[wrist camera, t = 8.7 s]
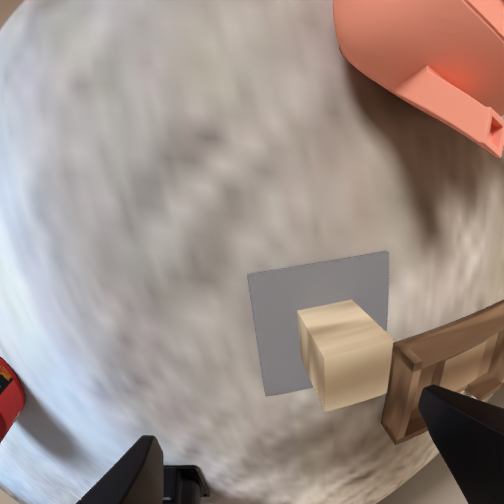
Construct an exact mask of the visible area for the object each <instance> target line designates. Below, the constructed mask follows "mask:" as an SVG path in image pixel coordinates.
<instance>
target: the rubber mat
mask: <svg viewBox="0 0 504 504" xmlns="http://www.w3.org/2000/svg"><path fill="white" fill-rule="evenodd" d="M247 276H248V283H249V290H250V297H251V303H252V310H253V317H254V324H255V330H256V337H257V344H258V350H259V357H260V364H261V370H262V377H263V383H264V390H265V396H271V395H276V394H282V393H287V392H292V391H297V390H302V389H306V388H311V387H313V385H312V383H311V380H310V378H309V376H308V374H307V371H306V369H305V367H304V365H303V362H302V360H301V353H300V340H299V328H298V317H297V311H298V310H303V309H308V308H313V307H318V306H323V305H328V304H333V303H337V302H342V301H347V300H351V299H352V300H353V301H354V302H355V303H356V304H357V305H358V306H359V307H360V308H361V309H362V310H363V311H365V312H366V313H367V314H368V315H369V316H370V317H371V318H372V319H373V320H374V321H375V322H376V323H377V324H378V325H379V326H381V327H382V328H383V329H384V330H385V331H386V330H387V314H388V285H389V252H387V251H382V252H377V253H371V254H366V255H360V256H354V257H349V258H343V259H337V260H331V261H325V262H319V263H313V264H307V265H301V266H295V267H289V268H283V269H277V270H270V271H264V272H258V273H251V274H247Z"/></svg>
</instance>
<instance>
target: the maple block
mask: <svg viewBox="0 0 504 504" xmlns="http://www.w3.org/2000/svg"><path fill="white" fill-rule="evenodd" d="M297 317H298V328H299V340H300V353H301V360H302V362H303V365H304V367H305V369H306V371H307V374H308V376H309V378H310V380H311V383H312V385H313V387H314V389H315V392H316V394H317V396H318V398H319V401H320V403H321V405H322V407H323V410H324V412H328V411H331V410H335V409H339V408H342V407H346V406H349V405H353V404H356V403H359V402H362V401H366V400H369V399H372V398H375V397H378V396H381V395H384V394H386V393H387V388H388V381H389V374H390V366H391V358H392V348H393V338H392V337H391V336H390V335H389V334H388V333H387V332H386V331H385V330H384V329H383V328H382V327H381V326H379V325H378V324H377V323H376V322H375V321H374V320H373V319H372V318H371V317H370V316H369V315H368V314H367V313H366V312H365V311H363V310H362V309H361V308H360V307H359V306H358V305H357V304H356V303H355V302H354V301H353V300H352V299H351V300H347V301H342V302H337V303H333V304H328V305H323V306H318V307H313V308H308V309H303V310H298V311H297Z"/></svg>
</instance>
